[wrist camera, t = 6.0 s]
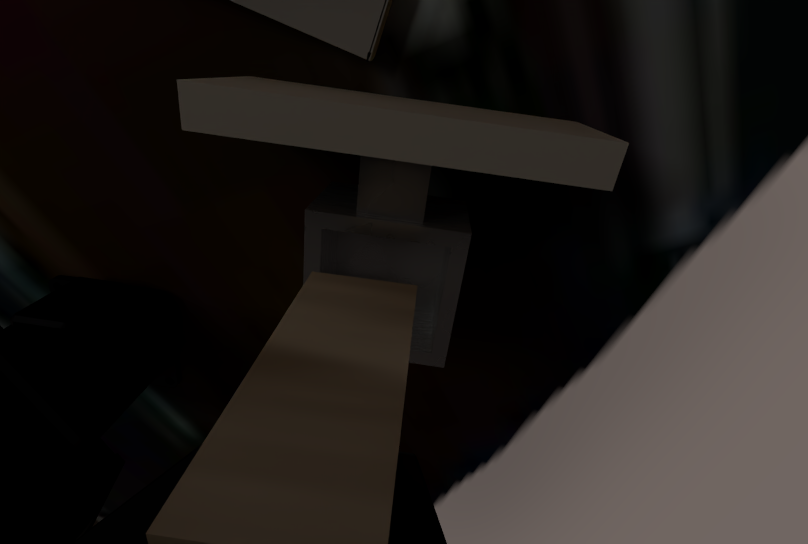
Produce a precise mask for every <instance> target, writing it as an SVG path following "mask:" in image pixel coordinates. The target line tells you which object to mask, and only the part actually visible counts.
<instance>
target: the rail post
mask: <svg viewBox="0 0 808 544" xmlns="http://www.w3.org/2000/svg"><path fill="white" fill-rule="evenodd" d="M416 293H417V285H410V284H402V283H395V282H387V281H380V280H372V279H365V278H357V277H350V276H343V275H335V274H328V273H320V272H313V271H312V272H311V274H310V275H309V277H308V279H307V280H306V282H305V283H304V285H303V287H302V288H301V290H300V291H299V293H298V294H297V296H296V298H295V299H294V301H293V302H292V304H291V305H290V307H289V309H288V310H287V312H286V313H285V315H284V316H283V318H282V320H281V321H280V323H279V324H278V326H277V327H276V329H275V331H274V332H273V334H272V335H271V337H270V338H269V340H268V342H267V343H266V345H265V346H264V348H263V349H262V351H261V353H260V354H259V356H258V357H257V359H256V361H255V362H254V364H253V365H252V367H251V368H250V370H249V372H248V373H247V375H246V376H245V378H244V379H243V381H242V383H241V384H240V386H239V387H238V389H237V390H236V392H235V394H234V395H233V397H232V398H231V400H230V401H229V403H228V405H227V406H226V408H225V409H224V411H223V412H222V414H221V416H220V417H219V419H218V420H217V422H216V424H215V425H214V427H213V428H212V430H211V431H210V433H209V435H208V436H207V438H206V439H205V441H204V442H203V444H202V446H201V447H200V449H199V450H198V452H197V453H196V455H195V457H194V458H193V460H192V461H191V463H190V464H189V466H188V468H187V469H186V471H185V472H184V474H183V475H182V477H181V479H180V480H179V482H178V483H177V485H176V486H175V488H174V490H173V491H172V493H171V494H170V496H169V498H168V499H167V501H166V502H165V504H164V505H163V507H162V509H161V510H160V512H159V513H158V515H157V516H156V518H155V520H154V521H153V523H152V524H151V526H150V527H149V529H148V531H147V532H146V537H147V541H148V544H388V539H389V530H390V521H391V512H392V504H393V495H394V486H395V477H396V469H397V460H398V451H399V442H400V433H401V425H402V416H403V407H404V398H405V389H406V381H407V372H408V363H409V354H410V345H411V337H412V328H413V319H414V310H415V302H416Z"/></svg>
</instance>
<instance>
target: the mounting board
mask: <svg viewBox="0 0 808 544" xmlns="http://www.w3.org/2000/svg"><path fill="white" fill-rule="evenodd" d="M177 87H178V96H179V106H180V116H181V125H182V130H186V131H193V132H200V133H207V134H214V135H221V136H228V137H235V138H242V139H249V140H256V141H263V142H270V143H277V144H284V145H291V146H298V147H305V148H312V149H319V150H326V151H333V152H340V153H347V154H354V155H361V156H368V157H375V158H382V159H389V160H396V161H403V162H410V163H417V164H424V165H431V166H438V167H445V168H452V169H459V170H466V171H473V172H480V173H487V174H494V175H501V176H508V177H515V178H522V179H529V180H536V181H543V182H550V183H557V184H564V185H571V186H578V187H585V188H592V189H599V190H606V191H613V188H614V185H615V182H616V179H617V176H618V173H619V171H620V168H621V165H622V162H623V159H624V156H625V153H626V150H627V148H628V145H629V143H627V142H625V141H623V140H620V139H618V138H615V137H613V136H610V135H608V134H605V133H603V132H601V131H598V130H596V129H593V128H591V127H588V126H586V125H583V124H581V123H579V122H574V121H567V120H559V119H552V118H545V117H538V116H531V115H524V114H516V113H509V112H502V111H495V110H488V109H481V108H474V107H466V106H459V105H452V104H445V103H438V102H431V101H423V100H416V99H409V98H402V97H395V96H388V95H380V94H373V93H366V92H359V91H352V90H345V89H337V88H330V87H323V86H316V85H309V84H302V83H295V82H287V81H280V80H273V79H266V78H259V77H252V76H243V77H223V78H202V79H181V80H177Z"/></svg>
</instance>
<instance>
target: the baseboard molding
mask: <svg viewBox="0 0 808 544" xmlns="http://www.w3.org/2000/svg"><path fill="white" fill-rule="evenodd" d="M230 1H233V2H235V3H237V4H239V5H242V6H244V7H246V8H249V9H251V10H253V11H256V12H258V13H260V14H263V15H265V16H267V17H270V18H272V19H274V20H276V21H279V22H281V23H283V24H286V25H288V26H290V27H293V28H295V29H297V30H300V31H302V32H304V33H306V34H309V35H311V36H313V37H316V38H318V39H320V40H323V41H325V42H327V43H330V44H332V45H334V46H337V47H339V48H341V49H343V50H346V51H348V52H350V53H353V54H355V55H357V56H360V57H362V58H364V59H367V60H366V61H367V62H368V60H369V61H372V60H373V59H374V57H375V55H376V51H377V48H378V45H379V42H380V39H381V36H382V33H383V29H384V26H385V23H386V20H387V17H388V14H389V11H390V7H391V4H392V1H393V0H230Z"/></svg>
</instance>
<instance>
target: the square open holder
mask: <svg viewBox="0 0 808 544" xmlns="http://www.w3.org/2000/svg"><path fill="white" fill-rule="evenodd" d="M431 167H432V166H431V165H424V164H417V163H410V162H403V161H396V160H389V159H382V158H375V157H368V156H361V157H360V170H359V183H358V185H353V184H346V183H339V182H331V183H330V184H329V185H328V186H327V187H326V188H325V189H324V190H323V191H322V193H321V194H320V195H319V196H318V197H317V198H316V199H315V200H314V201H313V202H312V203H311V204H310V205H309V206H308V207H307V208H306V209H305V232H304V280H303V285H304V283H305V282H306V280H307V279H308V277H309V275H310V274H311V272H312V271H313V272H320V273H328V274H335V275H343V276H350V277H357V278H365V279H372V280H380V281H387V282H395V283H402V284H410V285H417V293H416V302H415V310H414V319H413V328H412V337H411V345H410V354H409V363H416V364H423V365H429V366H436V367H442V368H444V365H445V360H446V355H447V351H448V346H449V341H450V336H451V331H452V327H453V322H454V317H455V312H456V307H457V303H458V298H459V293H460V288H461V283H462V279H463V274H464V269H465V264H466V259H467V255H468V250H469V245H470V240H471V235H472V232H471V227H470V221H469V215H468V209H467V204H466V201H464V200H457V199H450V198H443V197H436V196H429V195H427V194H428V187H429V181H430V174H431Z"/></svg>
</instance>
